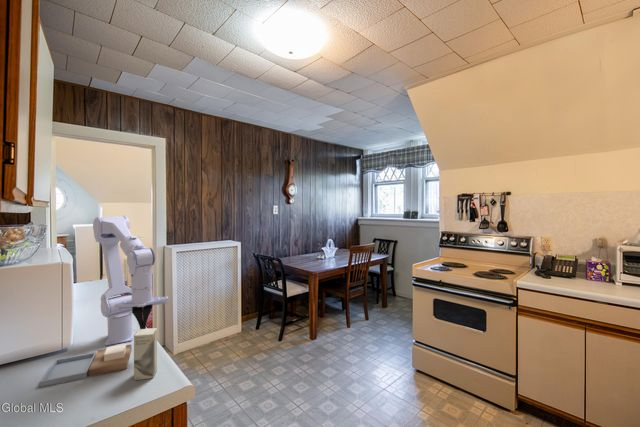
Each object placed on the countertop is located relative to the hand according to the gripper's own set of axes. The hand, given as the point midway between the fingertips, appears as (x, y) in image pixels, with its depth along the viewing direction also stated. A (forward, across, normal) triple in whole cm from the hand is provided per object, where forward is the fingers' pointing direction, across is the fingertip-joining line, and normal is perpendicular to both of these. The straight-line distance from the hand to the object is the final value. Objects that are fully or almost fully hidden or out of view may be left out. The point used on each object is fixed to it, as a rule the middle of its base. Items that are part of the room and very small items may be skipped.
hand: (143, 328), depth 95 cm
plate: (+9, -8, 0) cm, 12 cm away
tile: (+7, -8, 0) cm, 10 cm away
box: (+9, +2, -12) cm, 15 cm away
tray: (+9, -18, 0) cm, 21 cm away
